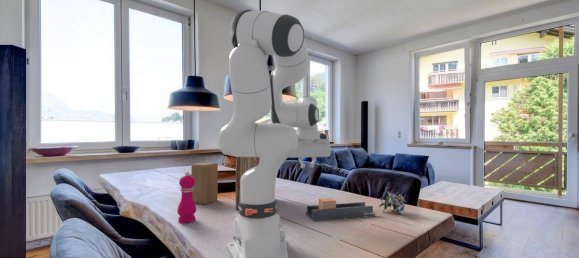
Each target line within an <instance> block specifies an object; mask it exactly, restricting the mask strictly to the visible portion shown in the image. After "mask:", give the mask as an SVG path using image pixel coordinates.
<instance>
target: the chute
mask: <svg viewBox="0 0 579 258" xmlns="http://www.w3.org/2000/svg"><path fill="white" fill-rule="evenodd" d="M375 214H376V213H375V212H374V205H366V202H365V201H360V202H347V203H344V202H343V203H336V208H333V209H319V204H315V205H307V206H306V212H305V215H306V216H308V218H310V220H311V221H313V222H322V221H323V222H324V221H333V220H334V221H336V219H337V220H345V219H344V218H349V219H355V218H354V217H360V218H365V217H364V216H372V217H375V216H374V215H375Z"/></svg>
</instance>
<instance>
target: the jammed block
mask: <svg viewBox="0 0 579 258" xmlns="http://www.w3.org/2000/svg"><path fill="white" fill-rule="evenodd" d="M336 204H337V200H336V199H334V198H332V197H325V198H324V197H323V198H319V197H318V205H319V209H333V208H336Z"/></svg>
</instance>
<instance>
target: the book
mask: <svg viewBox="0 0 579 258" xmlns="http://www.w3.org/2000/svg"><path fill="white" fill-rule="evenodd" d="M259 161H260V158H258V157H235V211H237V210H239V208H238V206H239V201H240V180H241V177H242V175H243V174H244V173H245V172H246V171H248V170H249V169H251V168H253V167H256V166H257V165H258V164H259Z"/></svg>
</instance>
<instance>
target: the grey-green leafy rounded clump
mask: <svg viewBox="0 0 579 258" xmlns="http://www.w3.org/2000/svg"><path fill="white" fill-rule="evenodd" d="M386 193H387V195H388V196H387V197H385V200H384V201H383V200H382V199H383V198H382V197H380V198H379V200H380V202H382V203H381V204H379V206H378V208H381V207H383V209H382V210H383V211H382V212H383V213H384V212H385V210H387V209H388V207H389V208H393V211H395V210H396V212H397V214H398V215H399V216H404V211H405V206H406V205H405V203H406V202H407V201H406V199H405V198H404V197H403V195H402V194H398V195H396V194H394V193H393V192H390V191H387V192H386Z"/></svg>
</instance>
